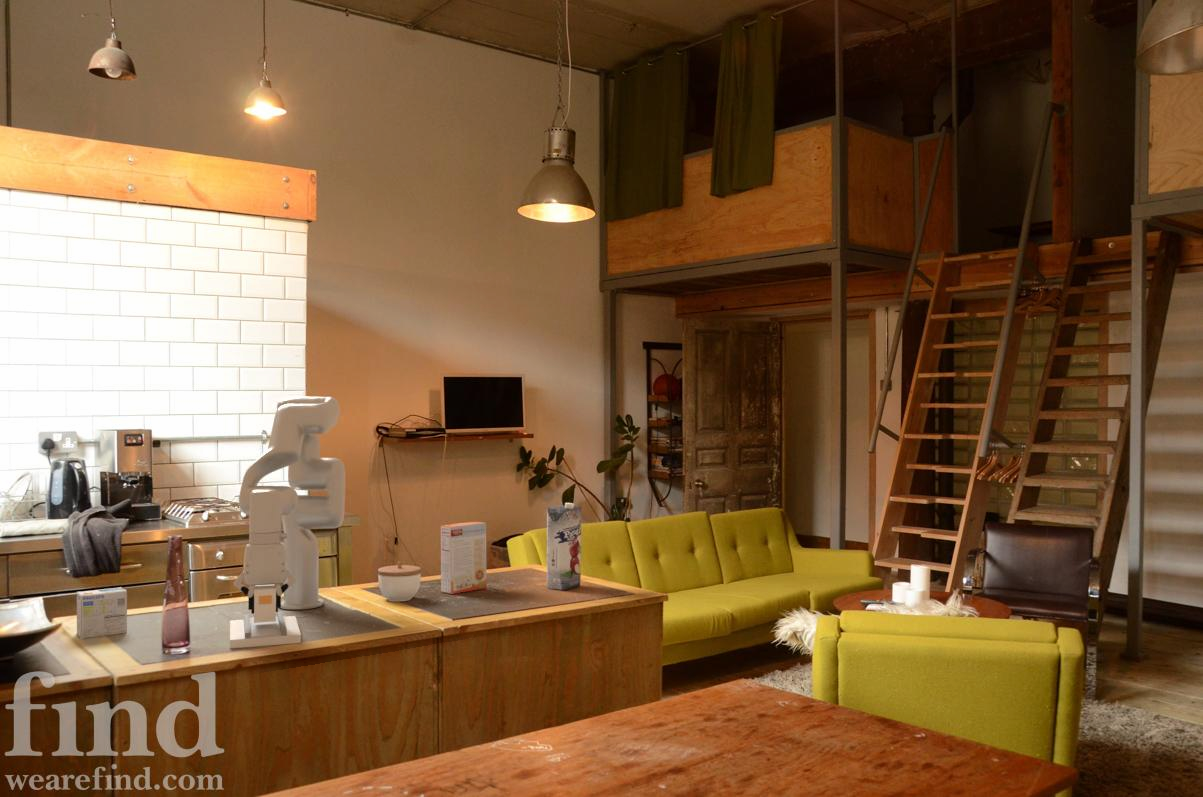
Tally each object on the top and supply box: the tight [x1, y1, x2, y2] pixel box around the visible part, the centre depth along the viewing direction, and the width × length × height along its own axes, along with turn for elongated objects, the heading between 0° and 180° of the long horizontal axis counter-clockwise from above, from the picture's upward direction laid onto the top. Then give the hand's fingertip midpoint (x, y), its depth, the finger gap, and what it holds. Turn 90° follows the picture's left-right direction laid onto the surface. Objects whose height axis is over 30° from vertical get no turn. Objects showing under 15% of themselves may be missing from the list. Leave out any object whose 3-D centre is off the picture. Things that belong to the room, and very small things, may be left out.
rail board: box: [229, 611, 302, 649], centre depth 238 cm, size 22×16×3 cm
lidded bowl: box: [377, 561, 422, 603], centre depth 284 cm, size 13×13×11 cm
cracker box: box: [440, 521, 487, 595], centre depth 298 cm, size 14×6×21 cm, turn 136°
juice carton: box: [546, 502, 582, 591], centre depth 304 cm, size 9×10×27 cm
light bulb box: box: [76, 586, 128, 639], centre depth 240 cm, size 11×7×11 cm, turn 129°
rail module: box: [253, 584, 277, 623], centre depth 238 cm, size 7×5×8 cm
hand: (264, 611), depth 238 cm, fingers closed on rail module, 4 cm apart
